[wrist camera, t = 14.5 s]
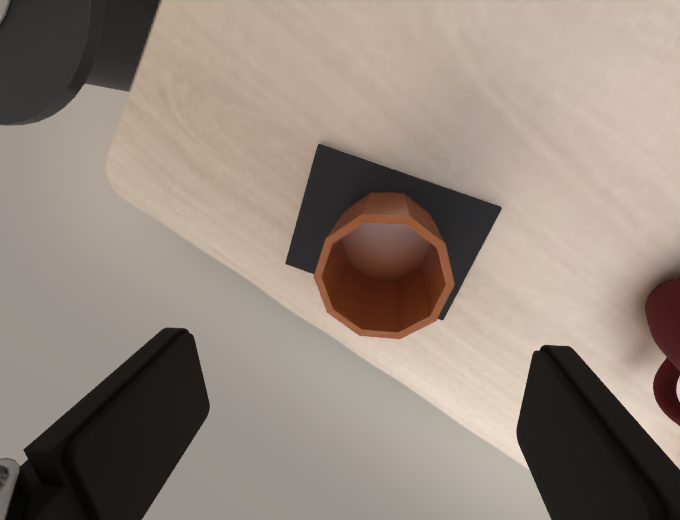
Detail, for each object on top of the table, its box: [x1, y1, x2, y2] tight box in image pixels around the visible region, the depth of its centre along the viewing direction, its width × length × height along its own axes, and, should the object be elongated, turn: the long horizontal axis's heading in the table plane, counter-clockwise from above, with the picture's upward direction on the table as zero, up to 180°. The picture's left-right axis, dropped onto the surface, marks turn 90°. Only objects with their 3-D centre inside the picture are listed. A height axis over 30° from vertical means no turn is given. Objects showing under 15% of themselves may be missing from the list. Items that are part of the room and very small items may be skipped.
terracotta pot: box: [314, 192, 455, 339], centre depth 21 cm, size 7×8×8 cm
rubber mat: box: [286, 144, 502, 320], centre depth 25 cm, size 14×10×1 cm
